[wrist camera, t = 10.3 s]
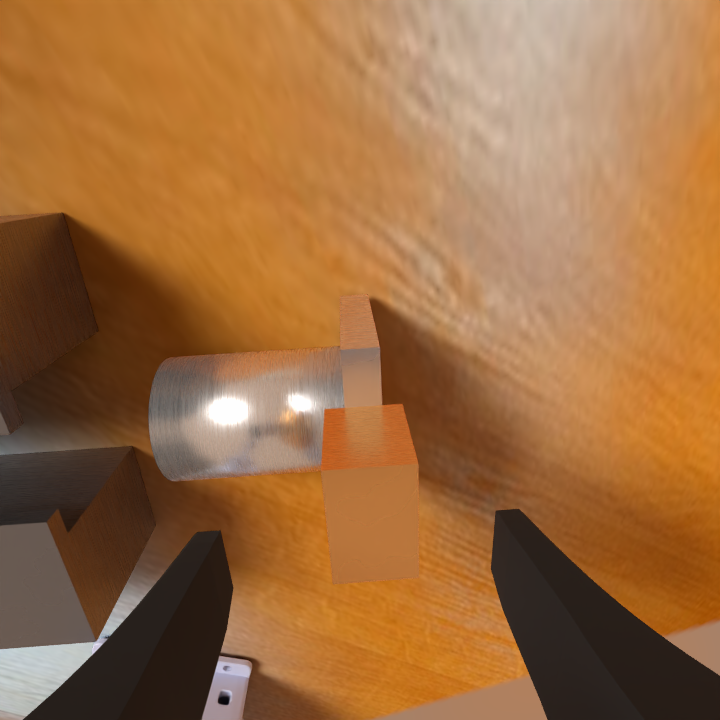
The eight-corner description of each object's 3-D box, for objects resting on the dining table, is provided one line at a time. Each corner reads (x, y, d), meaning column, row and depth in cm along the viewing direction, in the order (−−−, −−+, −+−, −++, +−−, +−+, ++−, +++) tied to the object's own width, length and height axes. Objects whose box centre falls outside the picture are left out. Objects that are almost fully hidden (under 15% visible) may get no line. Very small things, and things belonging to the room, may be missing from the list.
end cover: (210, 462, 22) (129, 647, 14) (175, 306, 19) (43, 419, 11) (388, 450, 23) (419, 625, 14) (382, 293, 20) (418, 394, 11)
